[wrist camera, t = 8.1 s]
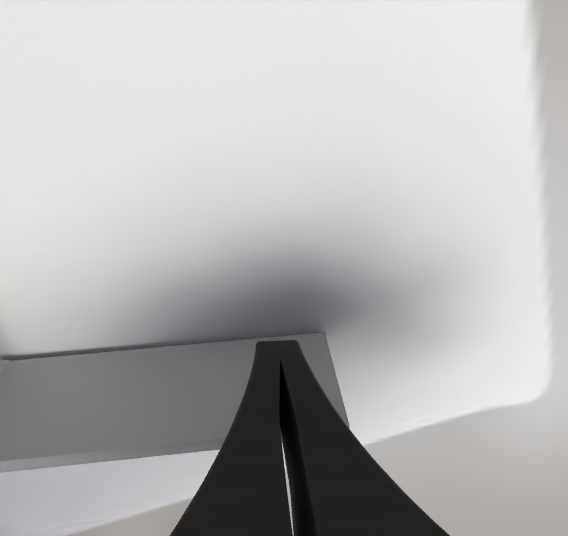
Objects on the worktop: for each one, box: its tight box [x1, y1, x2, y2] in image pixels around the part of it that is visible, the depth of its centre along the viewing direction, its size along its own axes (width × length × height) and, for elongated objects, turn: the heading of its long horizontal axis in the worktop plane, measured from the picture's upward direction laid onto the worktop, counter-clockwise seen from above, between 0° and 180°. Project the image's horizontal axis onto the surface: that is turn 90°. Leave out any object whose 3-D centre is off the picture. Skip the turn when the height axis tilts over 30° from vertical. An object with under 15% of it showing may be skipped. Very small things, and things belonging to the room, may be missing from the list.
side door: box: [0, 332, 349, 472], centre depth 13 cm, size 14×1×5 cm, turn 93°
